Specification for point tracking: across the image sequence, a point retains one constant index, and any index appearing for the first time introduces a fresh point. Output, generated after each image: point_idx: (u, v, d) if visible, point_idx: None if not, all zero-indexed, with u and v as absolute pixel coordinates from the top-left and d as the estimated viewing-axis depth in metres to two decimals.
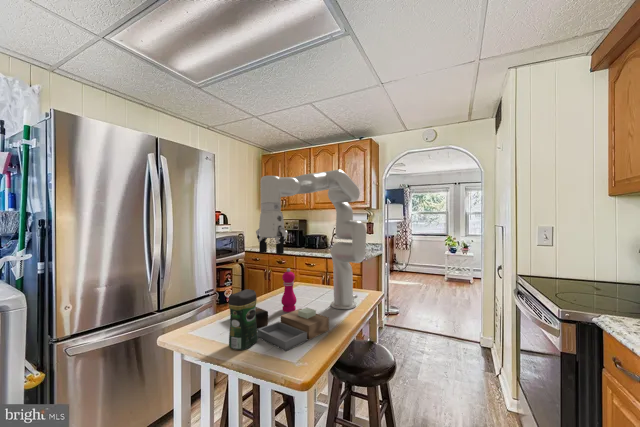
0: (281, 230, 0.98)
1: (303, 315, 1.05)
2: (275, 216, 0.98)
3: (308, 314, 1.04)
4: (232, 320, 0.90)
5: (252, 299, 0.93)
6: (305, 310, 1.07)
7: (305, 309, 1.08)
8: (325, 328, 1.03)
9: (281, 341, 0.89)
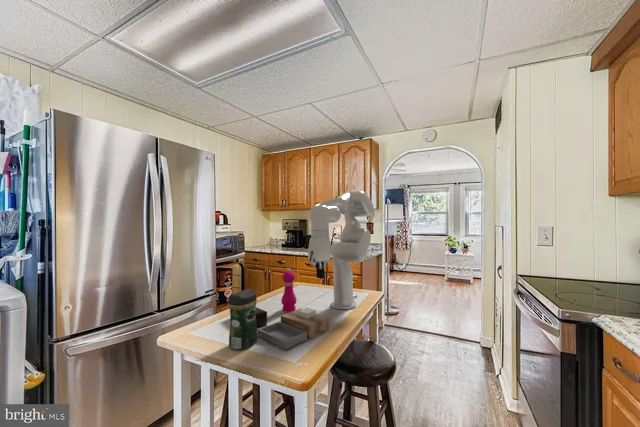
0: None
1: (303, 315, 1.05)
2: None
3: (308, 314, 1.04)
4: (232, 320, 0.90)
5: (252, 299, 0.93)
6: (305, 310, 1.07)
7: (305, 309, 1.08)
8: (325, 328, 1.03)
9: (281, 341, 0.89)
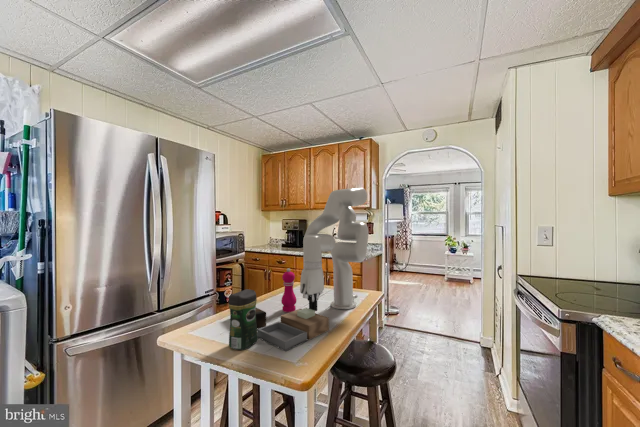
0: None
1: (302, 315, 1.04)
2: None
3: (307, 314, 1.04)
4: (232, 320, 0.90)
5: (252, 299, 0.93)
6: (304, 310, 1.07)
7: (304, 309, 1.08)
8: (325, 328, 1.03)
9: (281, 341, 0.89)
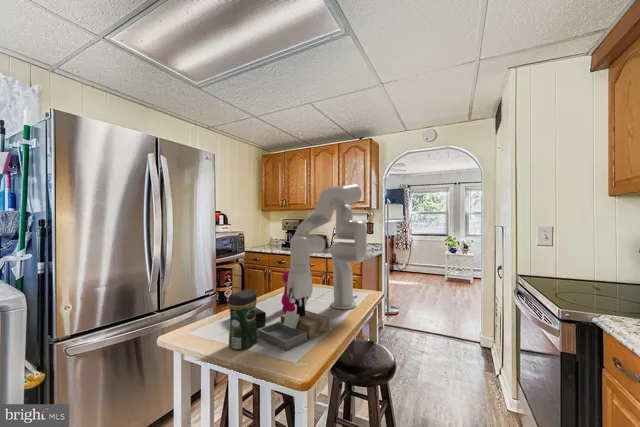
0: None
1: None
2: None
3: (293, 325, 0.98)
4: (232, 320, 0.90)
5: (252, 299, 0.93)
6: (288, 319, 1.00)
7: (287, 317, 1.01)
8: (325, 328, 1.03)
9: (281, 341, 0.89)
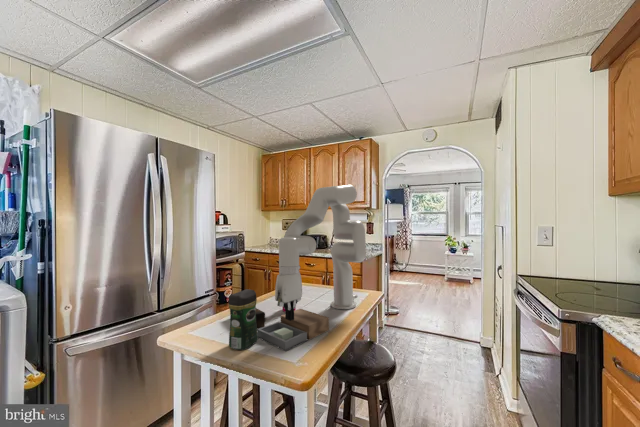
0: None
1: None
2: None
3: (291, 335, 0.97)
4: (232, 320, 0.90)
5: (252, 299, 0.93)
6: None
7: None
8: (325, 328, 1.03)
9: (281, 341, 0.89)
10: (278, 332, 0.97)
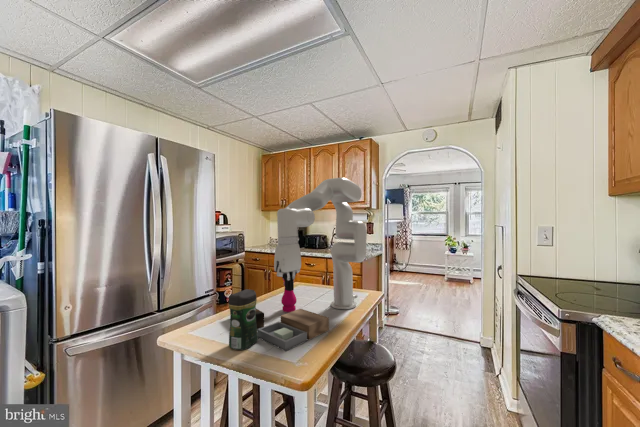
0: None
1: None
2: None
3: (291, 335, 0.97)
4: (232, 320, 0.90)
5: (252, 299, 0.93)
6: None
7: None
8: (325, 328, 1.03)
9: (281, 341, 0.89)
10: (278, 332, 0.97)
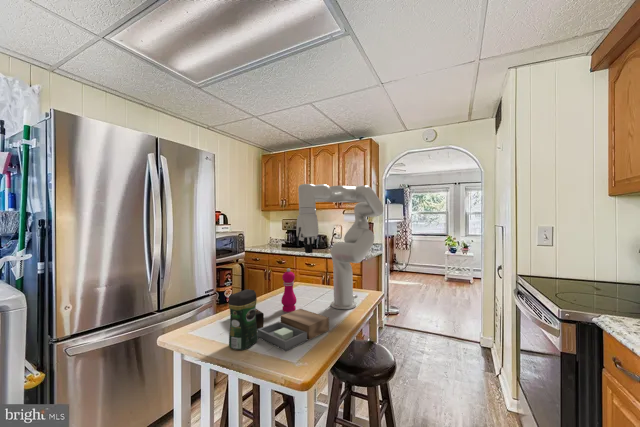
0: None
1: None
2: None
3: (291, 335, 0.97)
4: (232, 320, 0.90)
5: (252, 299, 0.93)
6: None
7: None
8: (325, 328, 1.03)
9: (281, 341, 0.89)
10: (278, 332, 0.97)
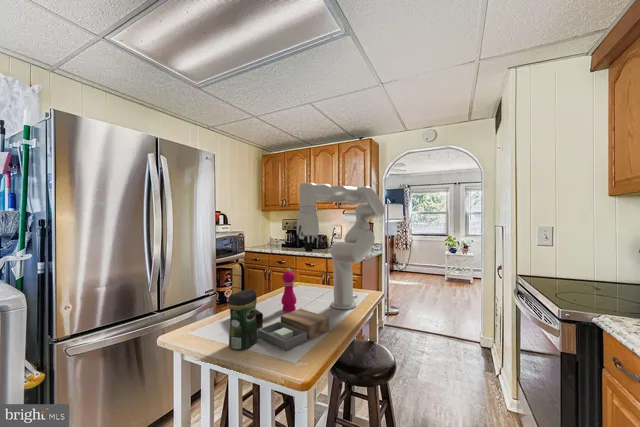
0: None
1: None
2: None
3: (291, 335, 0.97)
4: (232, 320, 0.90)
5: (252, 299, 0.93)
6: None
7: None
8: (325, 328, 1.03)
9: (281, 341, 0.89)
10: (278, 332, 0.97)
